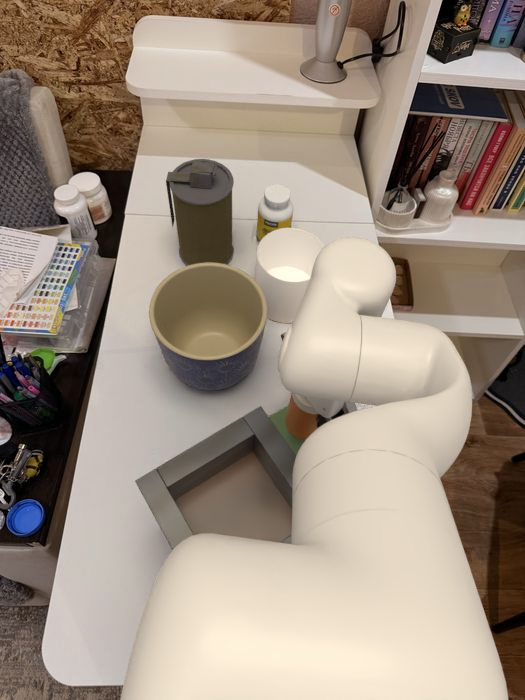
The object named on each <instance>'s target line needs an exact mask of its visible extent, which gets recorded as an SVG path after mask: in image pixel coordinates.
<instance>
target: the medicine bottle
mask: <svg viewBox="0 0 525 700" xmlns="http://www.w3.org/2000/svg"><path fill="white" fill-rule="evenodd" d="M288 405H289V406H288V410H287V414H286V425H287V428H288V430H289V431H290V432H291V433H292V434H293V435H294V436H295V437H297V438H299V439H303V440H306V439H307V438H308V437H309V436H310V435H311V434H312V433H313V432H314V431H315V430H316V429H318V427H317V422H318V420H319V417H320V414H319V413H318V412H317V411H316V409H315V408H314V407H313V406H312V404H311V403H310V402H309V400H308V399H307V398H306V397H305V396H302V395H297V394H294V393H292V392H290V398H289V402H288Z"/></svg>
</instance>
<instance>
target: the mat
mask: <svg viewBox="0 0 525 700" xmlns="http://www.w3.org/2000/svg"><path fill="white" fill-rule="evenodd" d="M288 406H289V404H287V405H285V406H284V407H282V408H280V409H279V410H277V411H276V412H273V414H271V415H268V417H269V418H270V419H271V421H272V422H273V424H274V425H275V426H276V428H277V429H278V431H279V432H280V433H281V435H282V436H283V438H284V439H285V441H286V442H287V443H288V445H289V446H290V448H291V449H292V450H293V452H294V453H295V455H296V456H297V453H298V451H299V449H300V447H301V446H302V444H303V443H304V442H305V440H303V439H299V438H297V437H295V436H294V435H293V434H292V433H291V432H290V431H289V430H288V428H287V425H286V414H287V410H288Z"/></svg>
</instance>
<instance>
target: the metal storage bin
mask: <svg viewBox="0 0 525 700" xmlns="http://www.w3.org/2000/svg"><path fill="white" fill-rule="evenodd" d="M295 459H296V455H295V453H294V452H293V450H292V449H291V448H290V446H289V445H288V443H287V442H286V441H285V439H284V438H283V436H282V435H281V433H280V432H279V431H278V429H277V428H276V426H275V425H274V424H273V422H272V421H271V419H270V418H269V415H268V414H267V412H266V411H265V409H264V408H263V407H262V405H260V406H258V407H257V408H255V409H253V410H252V411H250V412H248V413H246V414H245V415H243V416H242V417H239V418H238V419H236V420H235V421H233V422H231V423H230V424H228V425H226V426H225V427H223V428H221V429H219V430H218V431H216V432H214V433H213V434H211V435H210V436H208V437H206V438H204V439H202V440H201V441H199V442H198V443H196V444H194V445H192V446H191V447H189V448H187V449H185V450H184V451H183V452H181V453H179V454H177V455H175V456H174V457H172V458H170V459H169V460H167V461H165V462H164V463H162V464H161V465H159V466H157V467H156V468H154V469H152V470H150V471H148V472H146V473H145V474H144V475H142V476H140V477H139V478H137V479H135V480H134V483H135V484H136V486H137V487H138V489H139V492H140V493H141V496H142V497H143V498H144V501H145V502H146V504H147V506H148V508H149V510H150V512H151V514H152V515H153V517H154V519H155V521H156V523H157V524H158V526H159V528H160V530H161V532H162V534H163V535H164V537H165V539H166V541H167V543H168V545H169V546H170V548H171V551H172V550H173V549H174V548H175V547H176V546H177V545H178V544H179V543H181V542H182V541H183V540H185V539H187V538H188V537H190V536H193V535H197V534H201V533H214V534H220V535H227V536H235V537H242V538H250V539H257V540H264V541H272V542H279V543H286V544H291V536H292V490H293V467H294V462H295Z"/></svg>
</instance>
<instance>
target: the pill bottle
mask: <svg viewBox="0 0 525 700" xmlns="http://www.w3.org/2000/svg"><path fill="white" fill-rule="evenodd" d="M263 193H264V194H263V197H262V198H261V199H260V200H259V202H258V205H257V221H256V239H257V242H258V243H259V242H260V241H261V240H262V238H263V237H265V236H266V235H267V234H268V233H270V232H272V231H274V230H278V229H281V228H292V222H293V215H294V204H293V202H292V200H291V196H292V195H291V191H290V189H289V188H288V187H287V186H285V185H284V184H279V183H275V184H270V185H268V186H267V187H266V188H265V190H264V192H263Z"/></svg>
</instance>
